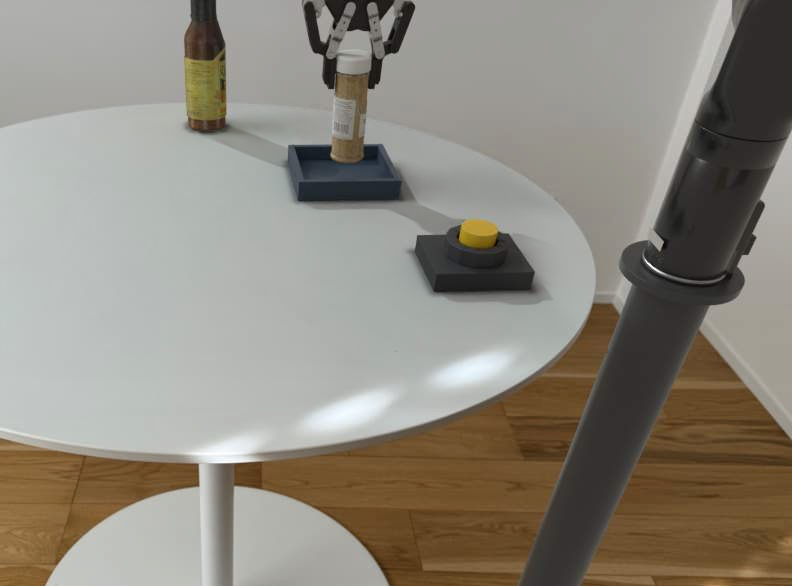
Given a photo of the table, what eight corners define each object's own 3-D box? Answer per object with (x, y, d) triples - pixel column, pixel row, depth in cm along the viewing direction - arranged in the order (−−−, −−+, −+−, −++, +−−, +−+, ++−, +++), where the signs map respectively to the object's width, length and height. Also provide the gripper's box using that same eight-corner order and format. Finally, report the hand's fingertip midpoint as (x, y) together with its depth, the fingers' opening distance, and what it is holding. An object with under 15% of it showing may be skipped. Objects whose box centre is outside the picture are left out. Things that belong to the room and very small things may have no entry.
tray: (380, 161, 114) (382, 143, 112) (399, 199, 104) (401, 180, 103) (287, 162, 113) (288, 144, 111) (297, 200, 103) (298, 182, 102)
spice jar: (370, 160, 106) (379, 54, 97) (343, 167, 104) (350, 61, 95) (349, 149, 109) (357, 46, 100) (322, 156, 107) (328, 51, 98)
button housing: (504, 249, 94) (512, 219, 91) (530, 289, 87) (539, 257, 85) (414, 251, 93) (419, 220, 91) (433, 291, 86) (439, 259, 84)
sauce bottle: (230, 131, 122) (230, -10, 109) (190, 134, 120) (185, -9, 108) (221, 117, 126) (220, -21, 114) (183, 119, 125) (178, -19, 113)
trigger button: (488, 232, 90) (491, 218, 88) (499, 249, 87) (503, 235, 85) (454, 233, 89) (457, 219, 88) (464, 250, 86) (467, 236, 85)
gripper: (307, -61, 86) (298, 97, 97) (434, -60, 87) (411, 97, 98) (299, -72, 92) (291, 78, 103) (418, -71, 93) (398, 77, 104)
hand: (350, 86), depth 100 cm, fingers closed on spice jar, 4 cm apart
